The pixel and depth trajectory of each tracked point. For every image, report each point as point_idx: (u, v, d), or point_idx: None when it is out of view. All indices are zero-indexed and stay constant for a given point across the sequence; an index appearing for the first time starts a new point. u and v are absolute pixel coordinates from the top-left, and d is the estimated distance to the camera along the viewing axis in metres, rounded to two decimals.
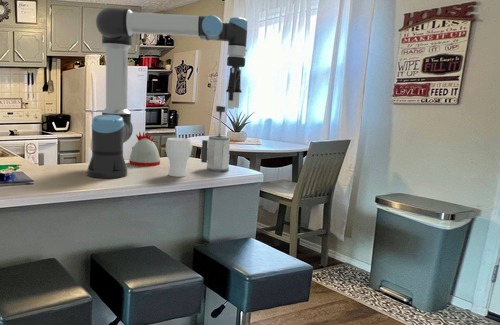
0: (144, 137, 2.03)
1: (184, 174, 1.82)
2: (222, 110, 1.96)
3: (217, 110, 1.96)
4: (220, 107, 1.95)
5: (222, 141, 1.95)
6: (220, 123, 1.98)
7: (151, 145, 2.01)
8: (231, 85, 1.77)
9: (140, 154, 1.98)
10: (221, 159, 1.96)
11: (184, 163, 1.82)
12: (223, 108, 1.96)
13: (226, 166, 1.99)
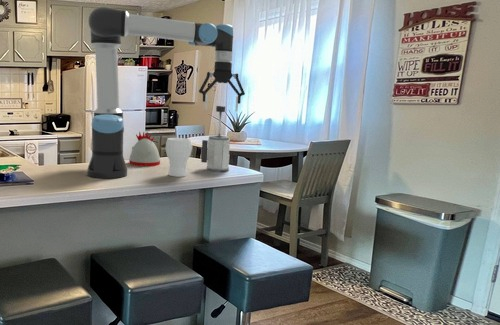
0: (144, 137, 2.03)
1: (184, 174, 1.82)
2: (222, 110, 1.96)
3: (217, 110, 1.96)
4: (220, 107, 1.95)
5: (222, 141, 1.95)
6: (220, 123, 1.98)
7: (151, 145, 2.01)
8: None
9: (140, 154, 1.98)
10: (221, 159, 1.96)
11: (184, 163, 1.82)
12: (223, 108, 1.96)
13: (226, 166, 1.99)
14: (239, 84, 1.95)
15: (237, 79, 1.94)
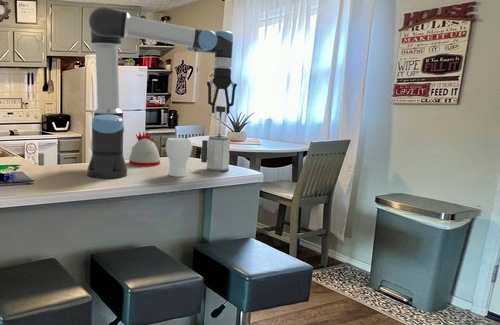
0: (144, 137, 2.03)
1: (184, 174, 1.82)
2: (222, 110, 1.96)
3: (217, 110, 1.96)
4: (220, 107, 1.95)
5: (222, 141, 1.95)
6: (220, 123, 1.98)
7: (151, 145, 2.01)
8: (208, 99, 1.96)
9: (140, 154, 1.98)
10: (221, 159, 1.96)
11: (184, 163, 1.82)
12: (223, 108, 1.96)
13: (226, 166, 1.99)
14: (233, 94, 1.95)
15: (233, 89, 1.95)
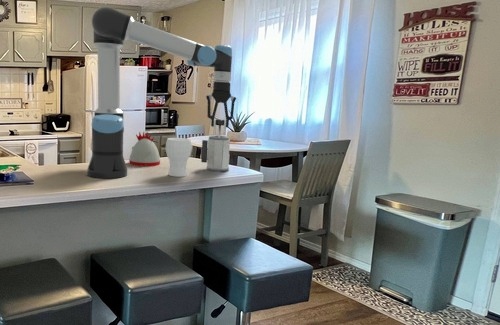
0: (144, 137, 2.03)
1: (184, 174, 1.82)
2: (221, 123, 1.97)
3: (216, 123, 1.97)
4: (219, 121, 1.96)
5: (222, 141, 1.95)
6: (219, 136, 1.99)
7: (151, 145, 2.01)
8: None
9: (140, 154, 1.98)
10: (221, 159, 1.96)
11: (184, 163, 1.82)
12: (222, 121, 1.97)
13: (226, 166, 1.99)
14: (232, 108, 1.96)
15: (233, 102, 1.96)
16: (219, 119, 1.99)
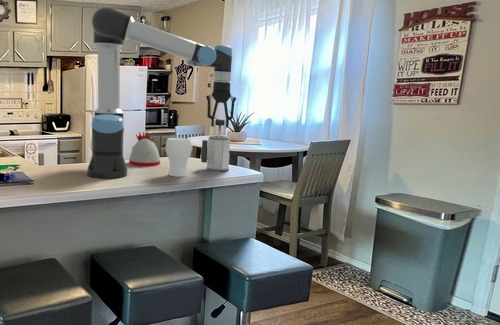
0: (144, 137, 2.03)
1: (184, 174, 1.82)
2: (221, 124, 1.97)
3: (216, 123, 1.97)
4: (219, 121, 1.96)
5: (222, 141, 1.95)
6: (219, 136, 1.99)
7: (151, 145, 2.01)
8: None
9: (140, 154, 1.98)
10: (221, 159, 1.96)
11: (184, 163, 1.82)
12: (222, 122, 1.97)
13: (226, 166, 1.99)
14: (232, 108, 1.96)
15: (233, 102, 1.96)
16: (219, 119, 1.99)
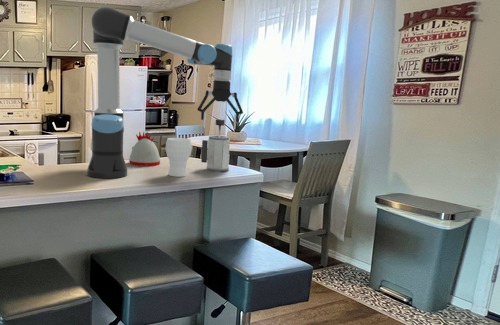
0: (144, 137, 2.03)
1: (184, 174, 1.82)
2: (221, 124, 1.97)
3: (216, 123, 1.97)
4: (219, 121, 1.96)
5: (222, 141, 1.95)
6: (219, 136, 1.99)
7: (151, 145, 2.01)
8: None
9: (140, 154, 1.98)
10: (221, 159, 1.96)
11: (184, 163, 1.82)
12: (222, 122, 1.97)
13: (226, 166, 1.99)
14: (237, 103, 1.96)
15: (235, 98, 1.96)
16: (219, 119, 1.99)
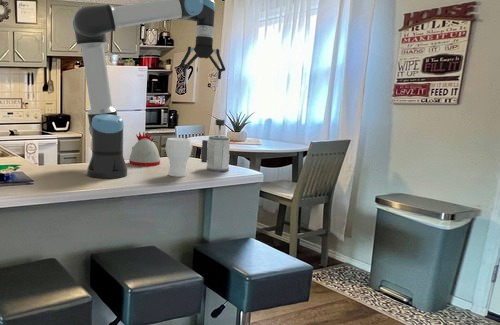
0: (144, 137, 2.03)
1: (184, 174, 1.82)
2: (221, 124, 1.97)
3: (216, 123, 1.97)
4: (219, 121, 1.96)
5: (222, 141, 1.95)
6: (219, 136, 1.99)
7: (151, 145, 2.01)
8: (181, 62, 1.96)
9: (140, 154, 1.98)
10: (221, 159, 1.96)
11: (184, 163, 1.82)
12: (222, 122, 1.97)
13: (226, 166, 1.99)
14: (220, 59, 1.95)
15: (218, 54, 1.95)
16: (219, 119, 1.99)
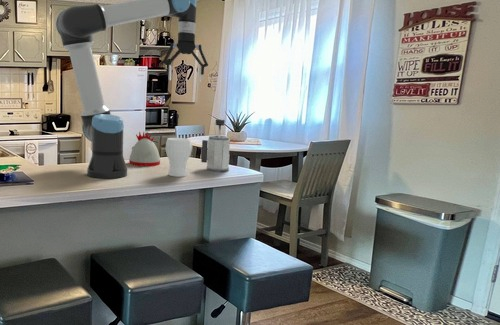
0: (144, 137, 2.03)
1: (184, 174, 1.82)
2: (221, 124, 1.97)
3: (216, 123, 1.97)
4: (219, 121, 1.96)
5: (222, 141, 1.95)
6: (219, 136, 1.99)
7: (151, 145, 2.01)
8: None
9: (140, 154, 1.98)
10: (221, 159, 1.96)
11: (184, 163, 1.82)
12: (222, 122, 1.97)
13: (226, 166, 1.99)
14: (202, 55, 1.98)
15: (200, 50, 1.97)
16: (219, 119, 1.99)
